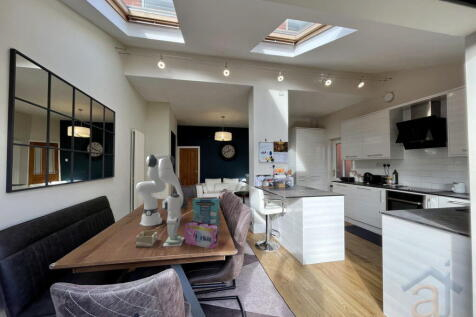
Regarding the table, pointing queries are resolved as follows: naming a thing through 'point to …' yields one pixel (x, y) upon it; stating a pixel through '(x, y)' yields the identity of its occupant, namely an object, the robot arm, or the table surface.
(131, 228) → the table surface
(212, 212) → the game box
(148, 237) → the box
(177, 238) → the lid
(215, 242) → the gum box
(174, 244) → the mat
